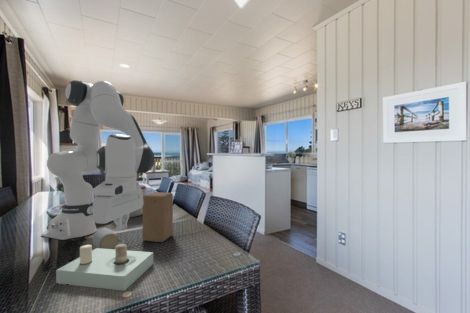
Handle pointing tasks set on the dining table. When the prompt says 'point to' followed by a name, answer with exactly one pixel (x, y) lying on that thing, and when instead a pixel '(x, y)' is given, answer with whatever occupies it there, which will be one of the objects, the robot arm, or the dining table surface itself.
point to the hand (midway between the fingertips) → (121, 229)
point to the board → (104, 269)
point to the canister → (139, 211)
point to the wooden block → (157, 216)
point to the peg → (121, 254)
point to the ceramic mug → (106, 239)
